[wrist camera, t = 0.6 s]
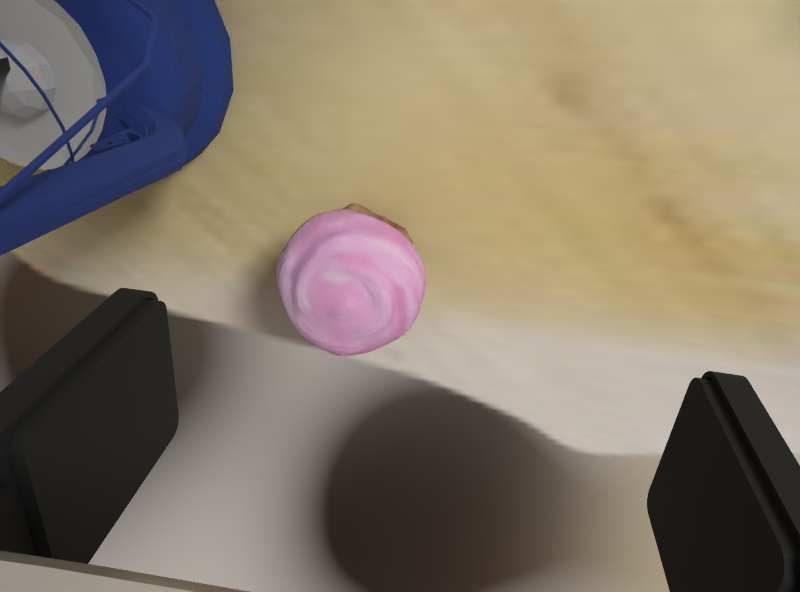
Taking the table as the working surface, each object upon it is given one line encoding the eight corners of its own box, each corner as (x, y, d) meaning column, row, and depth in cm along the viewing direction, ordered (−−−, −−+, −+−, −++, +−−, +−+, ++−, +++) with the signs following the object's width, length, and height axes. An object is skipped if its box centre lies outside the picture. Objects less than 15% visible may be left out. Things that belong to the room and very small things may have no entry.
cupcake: (454, 216, 41) (445, 282, 33) (402, 317, 45) (380, 401, 37) (331, 158, 41) (286, 210, 32) (289, 266, 45) (239, 339, 36)
